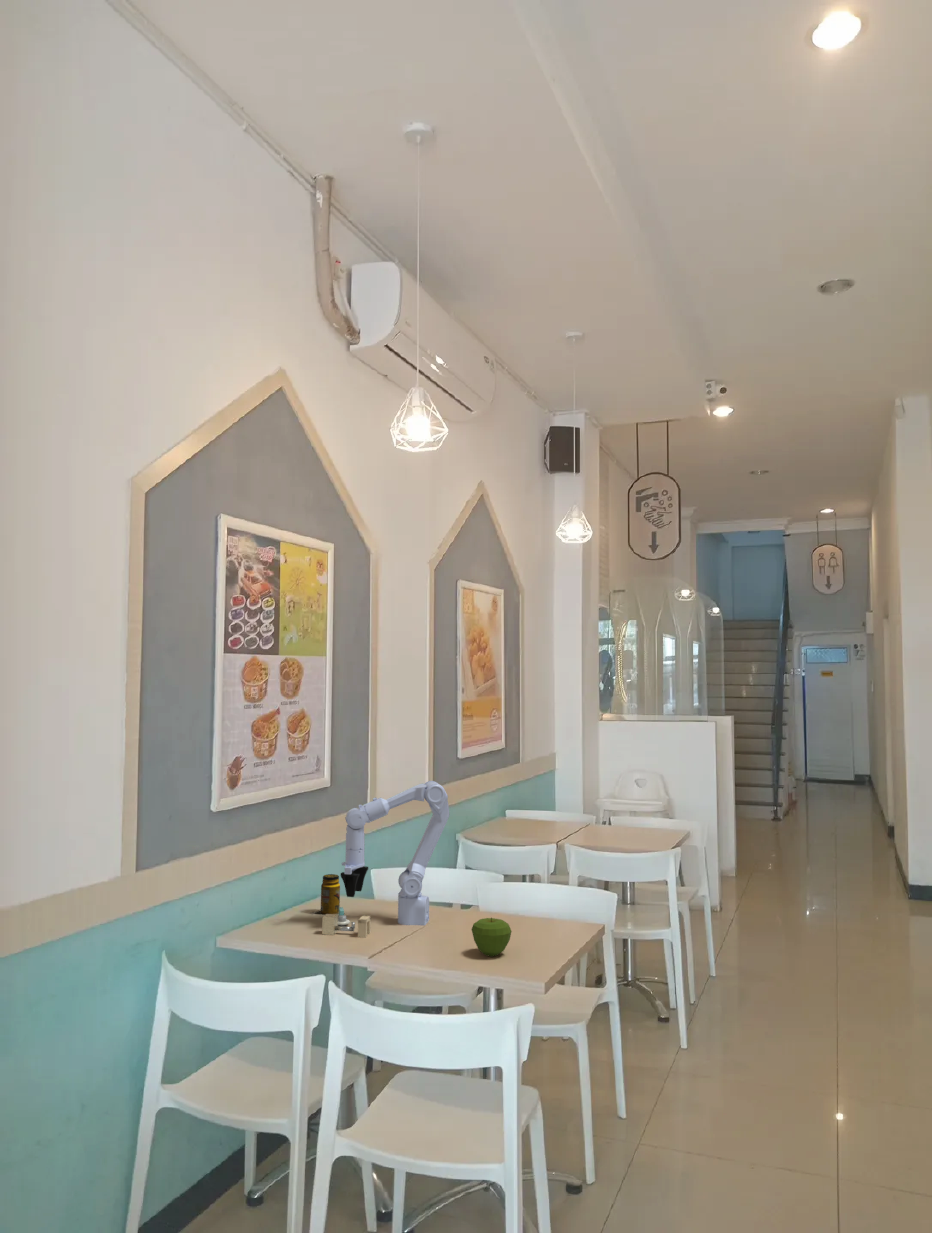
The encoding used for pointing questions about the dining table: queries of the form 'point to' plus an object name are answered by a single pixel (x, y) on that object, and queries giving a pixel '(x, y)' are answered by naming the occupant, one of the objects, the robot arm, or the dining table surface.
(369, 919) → the grey dial panel
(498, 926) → the apple
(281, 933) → the dining table surface
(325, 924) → the beige rectangular block
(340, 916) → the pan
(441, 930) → the dining table surface
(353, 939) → the dining table surface
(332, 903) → the condiment
